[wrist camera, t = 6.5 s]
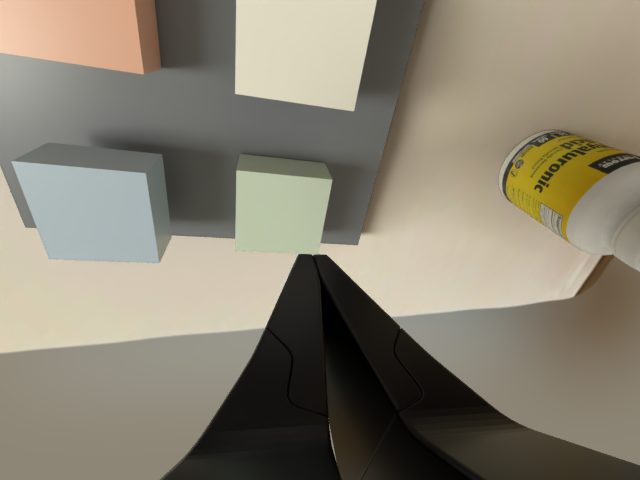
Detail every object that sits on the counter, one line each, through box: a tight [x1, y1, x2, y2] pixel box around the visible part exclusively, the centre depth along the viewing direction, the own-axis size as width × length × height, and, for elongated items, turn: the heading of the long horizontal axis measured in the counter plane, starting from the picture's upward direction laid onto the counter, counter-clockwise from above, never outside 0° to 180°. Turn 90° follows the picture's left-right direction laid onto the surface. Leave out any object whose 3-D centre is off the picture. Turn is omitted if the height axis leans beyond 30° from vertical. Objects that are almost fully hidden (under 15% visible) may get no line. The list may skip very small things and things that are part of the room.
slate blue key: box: [11, 142, 172, 263], centre depth 15 cm, size 5×5×2 cm
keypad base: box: [0, 0, 424, 245], centre depth 16 cm, size 20×15×2 cm
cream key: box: [235, 0, 377, 111], centre depth 12 cm, size 5×5×2 cm
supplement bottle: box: [499, 130, 640, 272], centre depth 18 cm, size 5×5×10 cm
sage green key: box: [235, 154, 332, 255], centre depth 18 cm, size 5×5×2 cm
